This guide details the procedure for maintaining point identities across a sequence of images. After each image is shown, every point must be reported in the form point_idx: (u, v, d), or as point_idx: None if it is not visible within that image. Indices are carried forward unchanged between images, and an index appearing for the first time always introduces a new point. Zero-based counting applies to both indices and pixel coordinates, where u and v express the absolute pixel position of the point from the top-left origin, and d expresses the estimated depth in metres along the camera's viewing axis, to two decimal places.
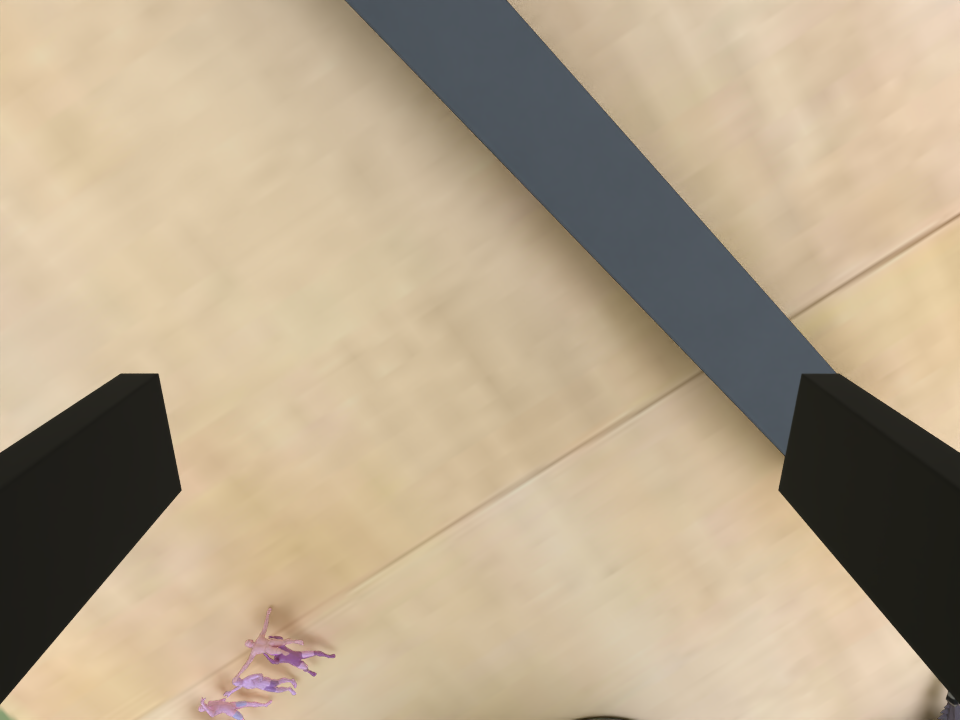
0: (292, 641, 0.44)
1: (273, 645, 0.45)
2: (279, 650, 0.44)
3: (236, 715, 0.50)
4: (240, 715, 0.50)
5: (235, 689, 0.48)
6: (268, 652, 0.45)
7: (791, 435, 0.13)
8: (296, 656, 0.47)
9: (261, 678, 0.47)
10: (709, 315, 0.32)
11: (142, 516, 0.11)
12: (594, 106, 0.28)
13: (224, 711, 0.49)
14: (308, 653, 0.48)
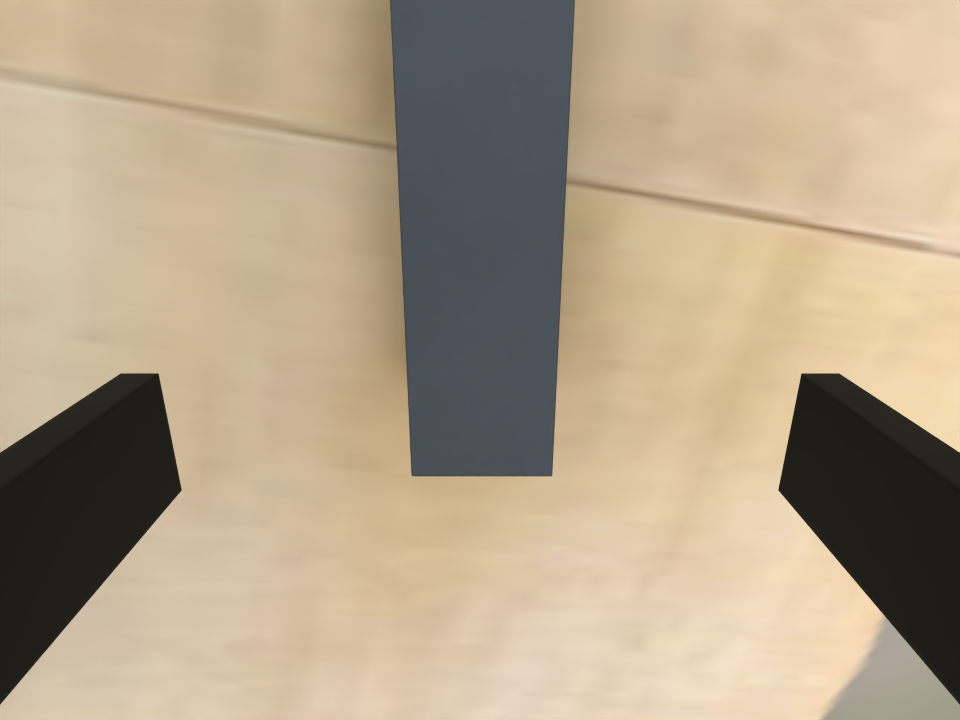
0: None
1: None
2: None
3: None
4: None
5: None
6: None
7: (791, 435, 0.13)
8: None
9: None
10: None
11: (141, 516, 0.11)
12: None
13: None
14: None
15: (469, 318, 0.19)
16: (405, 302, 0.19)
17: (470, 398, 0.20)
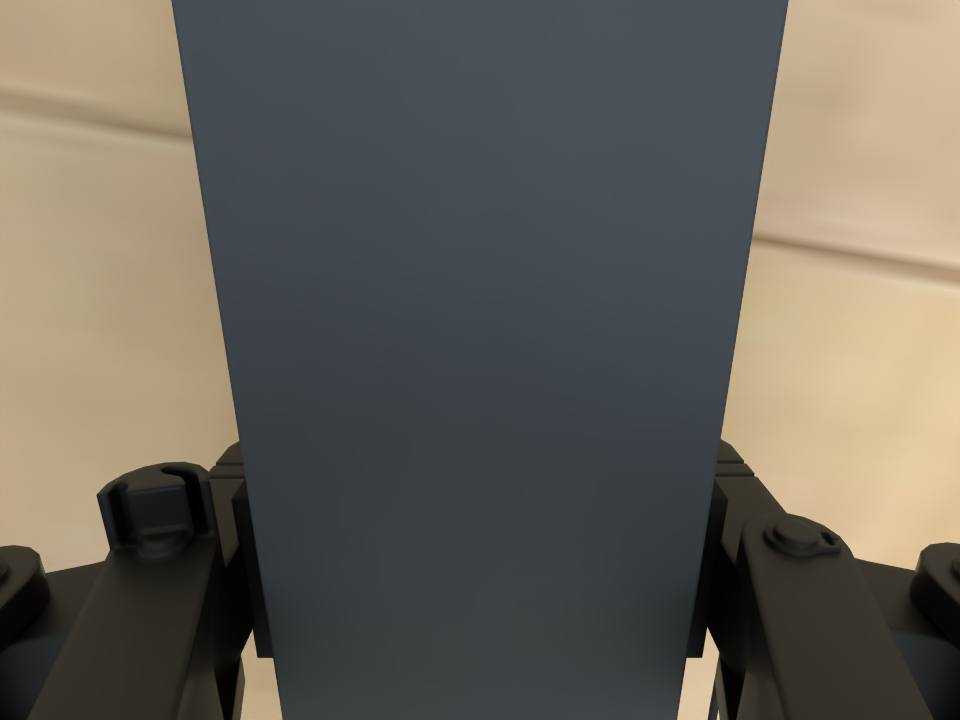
0: None
1: None
2: None
3: None
4: None
5: None
6: None
7: None
8: None
9: None
10: None
11: None
12: None
13: None
14: None
15: (445, 631, 0.07)
16: (267, 594, 0.07)
17: None
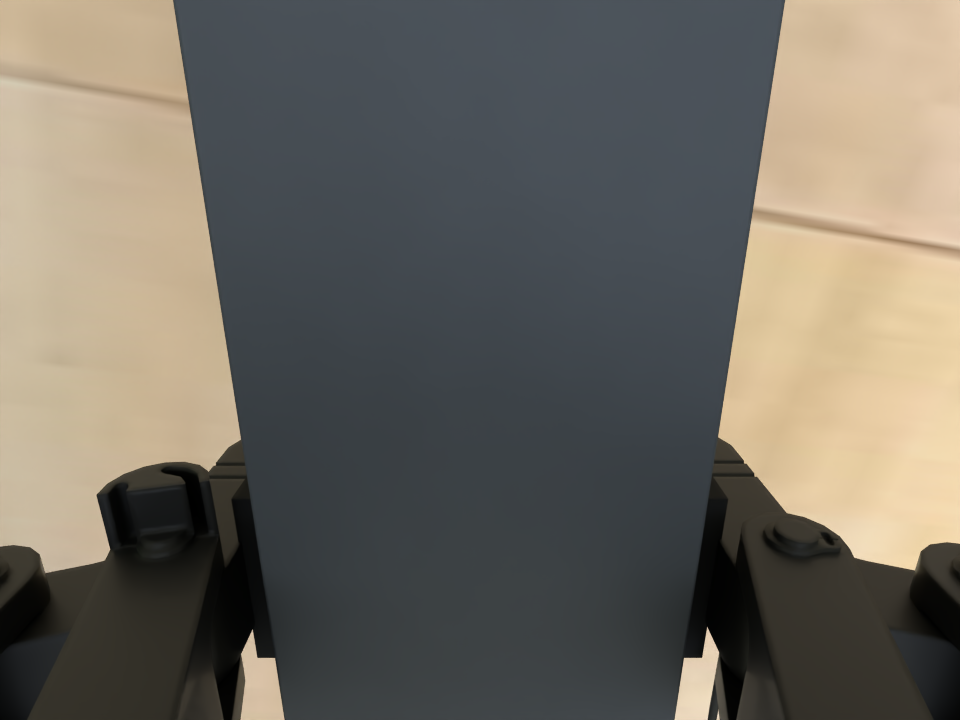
0: None
1: None
2: None
3: None
4: None
5: None
6: None
7: None
8: None
9: None
10: None
11: None
12: None
13: None
14: None
15: (445, 627, 0.07)
16: (268, 591, 0.07)
17: None
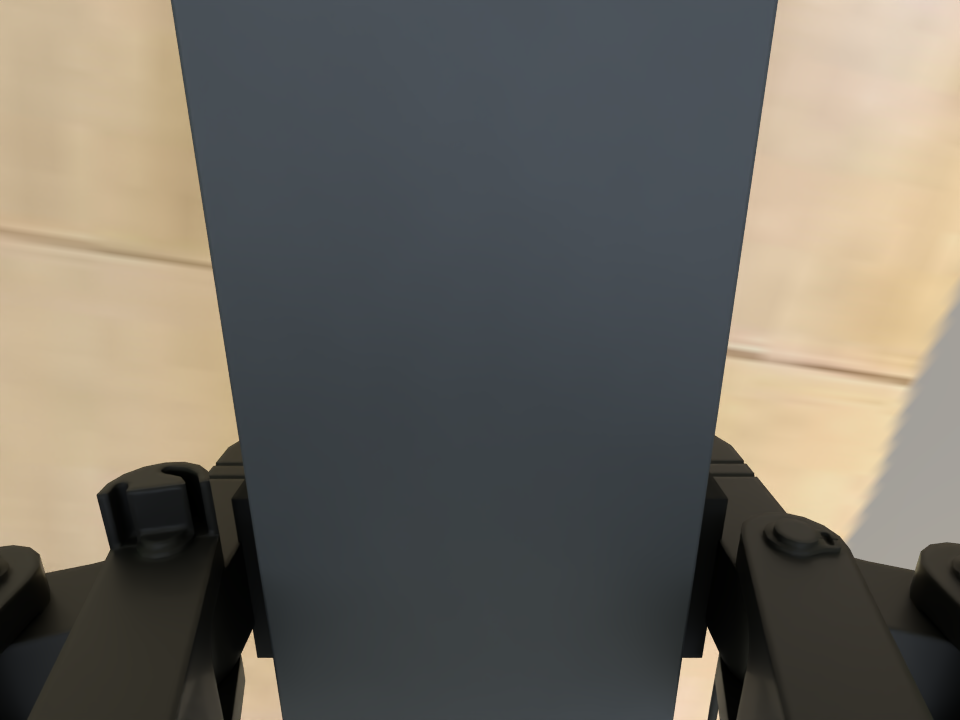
0: None
1: None
2: None
3: None
4: None
5: None
6: None
7: None
8: None
9: None
10: None
11: None
12: None
13: None
14: None
15: (443, 627, 0.07)
16: (266, 591, 0.07)
17: None
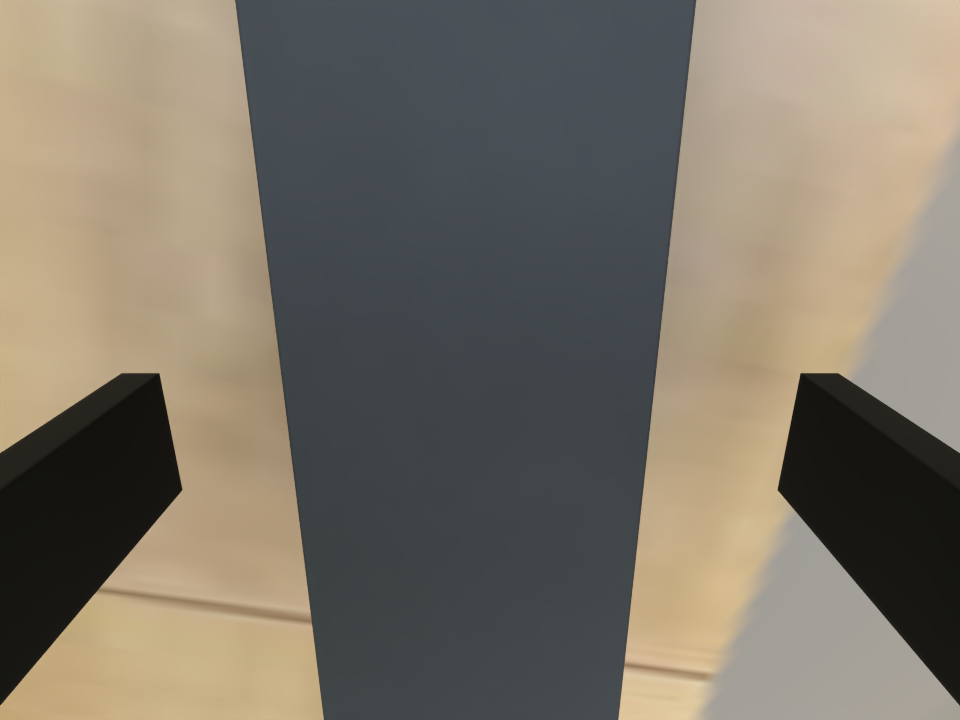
0: None
1: None
2: None
3: None
4: None
5: None
6: None
7: (790, 435, 0.13)
8: None
9: None
10: None
11: (142, 516, 0.11)
12: None
13: None
14: None
15: (441, 517, 0.09)
16: (298, 485, 0.09)
17: (446, 664, 0.10)
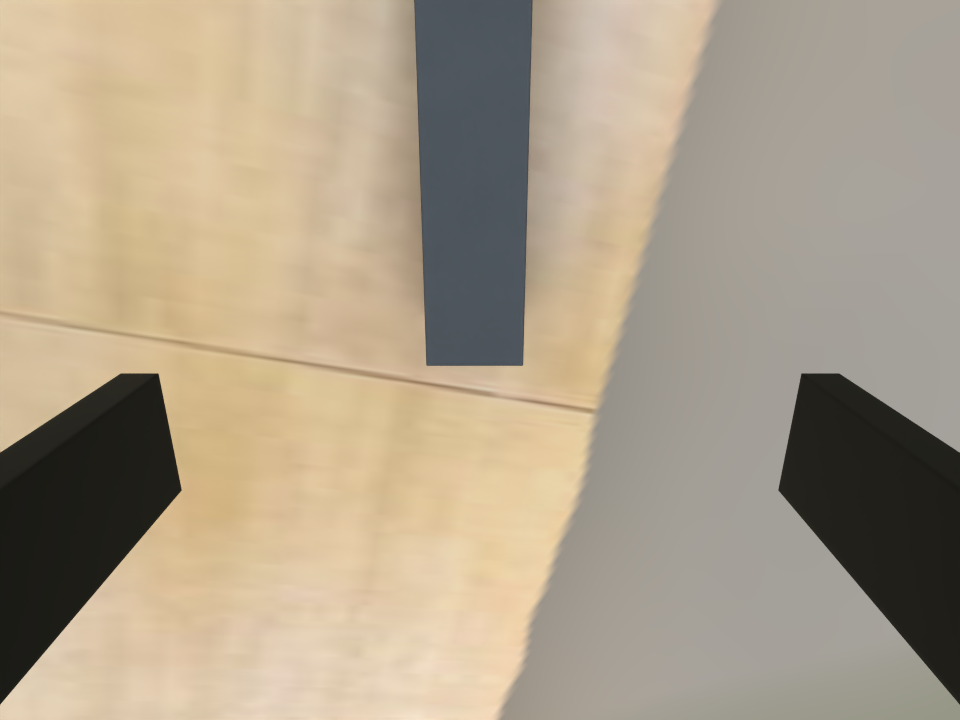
0: None
1: None
2: None
3: None
4: None
5: None
6: None
7: (791, 435, 0.13)
8: None
9: None
10: None
11: (141, 516, 0.11)
12: None
13: None
14: None
15: (465, 253, 0.29)
16: (423, 242, 0.29)
17: (467, 309, 0.30)
